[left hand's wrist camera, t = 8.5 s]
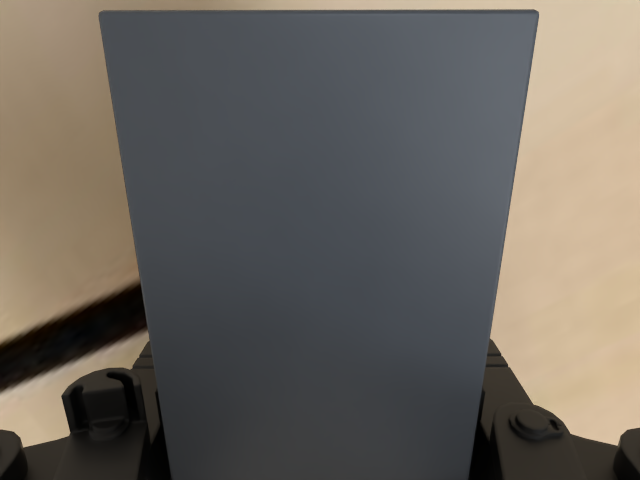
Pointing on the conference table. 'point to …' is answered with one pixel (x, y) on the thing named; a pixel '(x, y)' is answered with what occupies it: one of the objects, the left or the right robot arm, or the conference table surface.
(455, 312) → the bar
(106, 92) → the conference table surface
